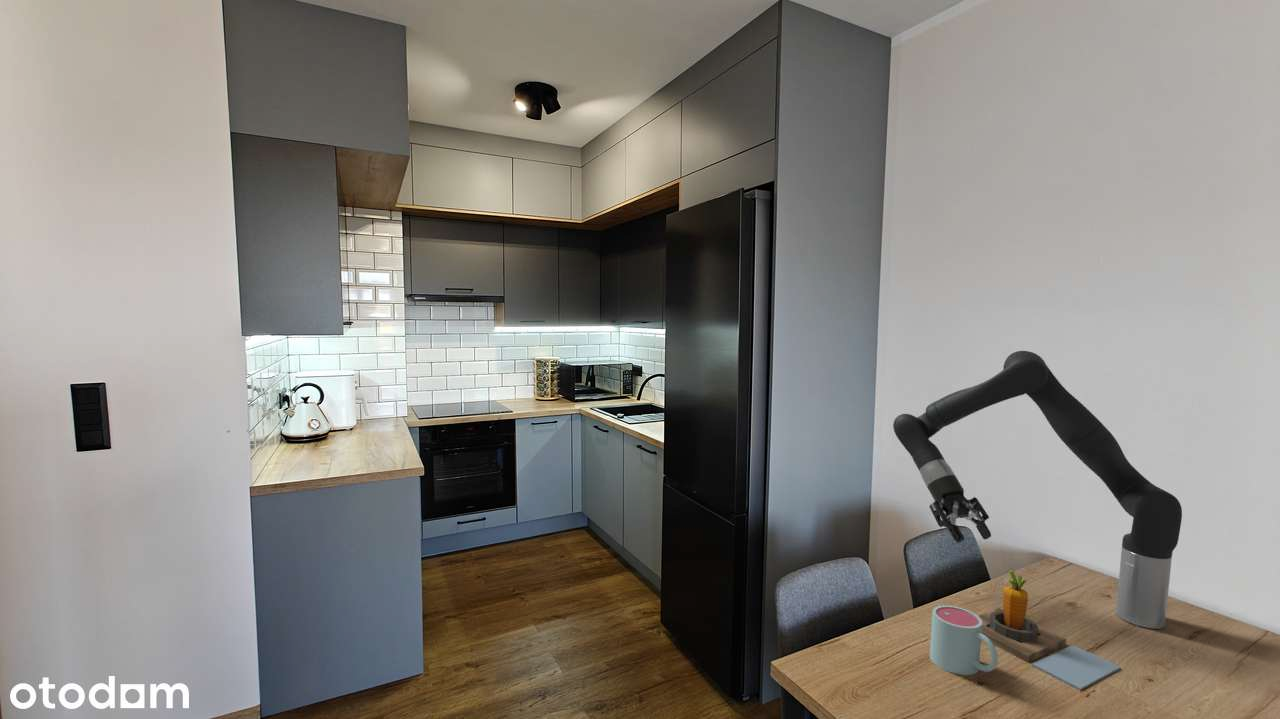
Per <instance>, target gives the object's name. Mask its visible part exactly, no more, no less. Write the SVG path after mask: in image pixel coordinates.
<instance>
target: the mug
mask: <svg viewBox="0 0 1280 719" xmlns="http://www.w3.org/2000/svg"><path fill="white" fill-rule="evenodd" d="M931 617H932V618H931V629H930V632H931V633H930V644H929V645H930V647H929V658H930V661H931V662H932V663H933V664H934V665H935V666H936V667H938V668H940V669H941V670H944V671H946V672H949V673H952V674H956V675H960V676H971V675H974V674H977V673H978V672H979V671H981V672H985V673H987V672H992V671H993V670H995V668H996V667H997V665H998V660H999V657H998V656H999V655H998V652H997V649H996V646H995V645H993V643H992V642H991V641H990V640H989V638H988V637H986V636H985V635H983V634H982V620H981V618H980V617H979V615H977V614H976V613H974V612H973V611H971V610H968V609H966V608H962V607H959V606H954V605H938V606H935V607H934V608H933V609H932V616H931ZM981 642H983V643H984V644H985V645H986V646H987V648H988V650H989V652H990V662H989V663H988V664H982V663H980V658H981V644H982V643H981Z"/></svg>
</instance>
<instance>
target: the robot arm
mask: <svg viewBox="0 0 1280 719" xmlns="http://www.w3.org/2000/svg"><path fill="white" fill-rule="evenodd" d="M1023 395H1027V397H1028V398H1030V399H1031V400H1032V401H1033V402H1034V403H1035V404H1036V405H1037V406H1038V408H1039V409H1040V411H1041V412H1042V414H1043V416H1044V417H1045V419H1046V420H1047V422H1048V424H1049V425H1050V427H1051V429H1053V431H1054V432H1055V434H1056V435H1057V436H1058V438H1059V439H1060V440H1061V441H1062V442H1063V444H1065V446H1066V447H1067V448H1068V449H1069V450H1070V451H1071V452H1072V453H1073V454H1074V455H1075V456H1076V457H1077V458H1078V459H1079V460H1080V461H1081V462H1082V463H1083V464H1084V465H1085V466H1086V467H1087V468H1088V469H1090V471H1092V472H1093V473H1094V474H1095V475H1096V476H1097V477H1098V478H1099V479H1100V480H1101V481H1102V482H1103V483H1104V484H1105V486H1106V487H1107V488H1108V489H1109V491H1110V492H1111V493H1112V495H1113V496H1114V498H1115V499H1116V501H1117V502H1118V503H1119V505H1120V506H1121V507H1122V509H1123V510H1124V511H1125V512H1126V513H1127V514H1128V515H1129V516H1131V517H1132V518H1133V520H1132V524H1131V531H1130V532H1129V533H1127V534H1124V535H1123V537H1122V544H1121V552H1120V563H1119V573H1118V574H1119V575H1118V585H1117V595H1116V605H1115V614H1116V616H1118V617H1119V618H1120V619H1122V620H1123V621H1125V622H1128V623H1130V624H1133V625H1135V626H1138V627H1142V628H1147V629H1154V630H1155V629H1157V630H1160V629H1163V628H1165V626H1166V618H1167V608H1168V598H1169V590H1170V580H1171V579H1170V577H1171V567H1172V558H1173V551H1174V550H1175V549H1176V547H1177V545H1178V542H1179V537H1180V533H1181V526H1182V518H1183V508H1182V505H1181V503H1180V501H1179V500H1178V498H1177V497H1176V496H1174V495H1173V494H1172V493H1170V492H1168V491H1166V490H1164V489H1162V488H1160V487H1159V486H1156V485H1155V484H1153V483H1152V482H1150V481H1149V480H1148V479H1147V478H1146V477H1144V475H1142V474H1141V473H1140V471H1138V470H1137V468H1135V467H1134V466H1133V465H1132V464H1131V463H1130V462H1129V460H1128V459H1127V458H1126V456H1125V454H1124V452H1123V450H1122V448H1121V446H1120V443H1118V441H1117V439H1116V438H1115V436H1114V435H1113V434H1112V433H1111V431H1110V430H1109V429H1108V428H1107V427H1106V426H1105V425H1104V424H1103V423H1102V422H1101V421H1100V420H1099V418H1097V417H1096V415H1094V414H1093V412H1091V411H1090V410H1089V409H1088V408H1087V407H1086V406H1085V405H1084V404H1083V403H1082V402H1081V401H1079V400H1078V399H1077V398H1076V397H1075V396H1074V395H1072V393H1070V392H1069V391H1068V390H1067V389H1066V388H1065V387H1064V386H1063V384H1062V383H1061V382H1060V381H1059V380H1058V378H1057V377H1056V376H1055V374H1053V371H1052V370H1051V369H1050V368H1049V366H1048V365H1047V364H1046V362H1045V360H1044V359H1043V358H1042V357H1041V356H1040V355H1038V354H1037V353H1034V352H1032V351H1028V350H1018V351H1014V352H1012V353H1010V354H1009V355H1008V356H1007V357H1006V359H1005V361H1004V364H1003V370H1001V371H1000V372H999V373H997V374H996V375H994V376H992V377H991V378H988V379H987V380H985V381H983V382H980V383H979V384H977V385H974V386H970V387H966V388H964V389H960V390H957V391H955V392H954V391H953V392H952V393H950V394H948V395H945V396H944V397H941V398H940V399H937V400H936V401H934V402H931V403H930V404H928V405H927V406H926V407H925V412H924V413H922V414H921V415H919V416H914V415H913V414H910V413H902V414H899V415H898V416H896V418H894V420H893V425H892V426H893V427H892V428H893V432H894V434H895V436H896V437H897V439H898V440H899V442H900V444H901V445H902V446H903V447H904V449H905V450H906V451H907V452H908V454H909V455H910V456H911V458H912V460H913V462H914V464H915V466H916V467H917V469H918V471H919V474H920V476H921V478H922V480H923V482H924V484H925V485H926V488H927V490H928V491H929V493H930V495H931V497H932V499H933V500H934V501H933V502H932V503H931V504H929V509H930V511H931V513H932V515H933V518H934V519H935V521H936V523H937V525H938V527H940V528H942V527H944V528H945V529H947V530H948V531H949V532H950V535H951V536H952V538H953V540H954V541H955V542H956V543H962V542H963V541H964V540H965V537H964V534H963V532H962V531H961V530H960V528H959V526H958V525H957V524H956V523H957V519H965V520H966V521H970V522H972V523H973V524H974V525H975V527H976V529H977V530H978V533H979V534H980V536H981V538H982V539H983V540H988V539H990V538H991V537H992V534H991V533H992V532H991V531H990V530H989V528H988V526H987V524H986V523H985V522H986V521H987V520H988V519H990V516H989V515H988V513H987V512H986V510H985V509H984V507H983V505H982V504H981V503H980V500H979V499H978V498H977V497H975V496H973V497H972V498H971V499H968V498H966V496H965V495H964V493H965V490H964V488H963V485H961V483H960V481H959V480H958V477H957V476H956V474H955V472H954V471H953V469H952V467H951V466H950V465H949V464H948V462H947V461H946V460H945V458H944V456H943V455H942V453H941V451H940V450H939V448H938V447H937V445H935V444H934V442H932V441H931V440H930V439H931V437H933V436H934V435H936V434H937V433H938V432H940V431H941V430H942V429H943V428H944V427H947V426H950V425H951V424H954V423H956V422H958V421H960V420H962V419H963V418H966V417H968V416H970V415H972V414H975V413H976V412H978V411H981V410H983V409H986V408H988V407H991V406H993V405H995V404H998V403H1001V402H1004V401H1007V400H1010V399H1013V398H1017V397H1019V396H1023Z"/></svg>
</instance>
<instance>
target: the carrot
mask: <svg viewBox="0 0 1280 719" xmlns="http://www.w3.org/2000/svg"><path fill="white" fill-rule="evenodd" d="M1009 574H1010V576H1011V579H1010V578H1008V579H1007V580H1008V582H1009V583H1010V585H1009V586H1005V587H1004V590H1003V601H1002V603H1003V604H1002V607H1003V608H1002V610H1003V612H1004V619H1005V624H1006V626H1007V627H1009V628H1013V629H1017V630H1020V629H1021V627H1022V625H1023V622H1024V619H1025V617H1026V616H1027V615H1026V614H1027V607H1028V601H1029V600H1028V599H1029V598H1028V597H1029V595H1028V592H1027V591H1026V590H1025V589H1023V588H1022V587H1023V586H1024V584H1025V583H1026V582H1027V579H1025V578H1023V577H1022V575H1021V574H1018V575H1017V576H1016V573H1015V572H1014V570H1009ZM1017 578H1018V579H1017Z"/></svg>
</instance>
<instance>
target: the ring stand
mask: <svg viewBox="0 0 1280 719" xmlns="http://www.w3.org/2000/svg"><path fill="white" fill-rule="evenodd" d="M978 616H979V617H980V618H981V620H982V634H983V635H985V636H986V637H988V638H989V640H990V641H991V642H992V643H993V645H994V647H997V648H999V649H1001V650H1003V651H1005V652H1007V653H1009V654H1011V655H1013V656H1015V657H1017V658H1019V659H1021V660H1023V661H1025V662H1027V663H1030V662H1033V661H1035V660H1036V659H1039V658H1041V657H1043V656H1046V655H1048V654H1049V653H1051V652H1053V651H1056V650H1058V649H1061V648H1062V647H1065V646H1067V637H1064V636H1062V635H1059V634H1057V633H1055V632H1052V631H1051V630H1048V629H1046V628H1045V627H1042V626H1040V625H1038V624H1037V623H1035V621H1033V620H1032V619H1030V618H1028V617H1026V616H1025V619H1024V622H1023V625H1022V627H1021V629H1020V630H1017V629H1013V628H1009V627H1007V626H1006V624H1005V619H1004V612H1003V608H996V609H993V610H990V611H987V612H984V613H983V614H979V615H978Z"/></svg>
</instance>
